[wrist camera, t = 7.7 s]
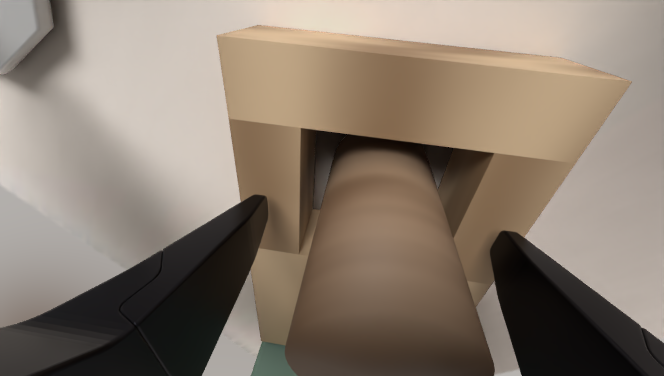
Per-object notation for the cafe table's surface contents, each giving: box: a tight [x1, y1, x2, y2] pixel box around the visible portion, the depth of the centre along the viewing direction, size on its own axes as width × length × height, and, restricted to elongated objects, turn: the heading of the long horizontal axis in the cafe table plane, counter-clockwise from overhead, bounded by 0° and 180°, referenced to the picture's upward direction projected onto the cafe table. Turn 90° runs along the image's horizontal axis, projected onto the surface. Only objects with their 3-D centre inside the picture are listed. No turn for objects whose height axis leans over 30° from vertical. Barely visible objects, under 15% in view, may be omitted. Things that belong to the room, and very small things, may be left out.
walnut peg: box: [285, 134, 495, 376], centre depth 9 cm, size 4×4×8 cm
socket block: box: [217, 25, 632, 345], centre depth 13 cm, size 10×16×3 cm, turn 175°
